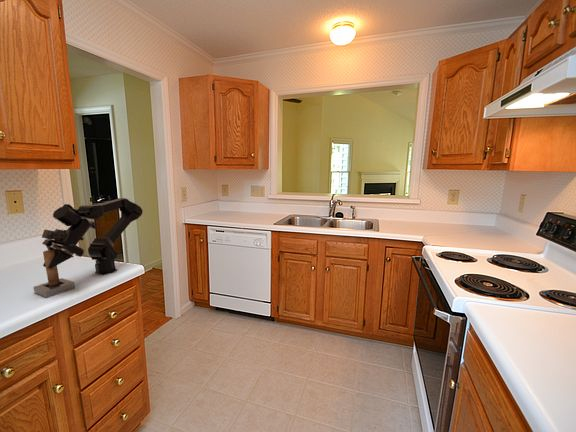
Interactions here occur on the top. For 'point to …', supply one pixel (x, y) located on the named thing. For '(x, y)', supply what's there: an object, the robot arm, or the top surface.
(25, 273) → the top surface
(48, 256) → the walnut pin
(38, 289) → the square hole frame
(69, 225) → the robot arm
